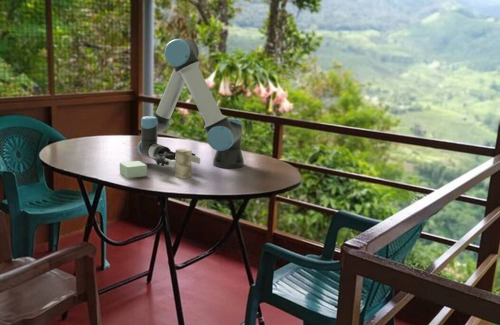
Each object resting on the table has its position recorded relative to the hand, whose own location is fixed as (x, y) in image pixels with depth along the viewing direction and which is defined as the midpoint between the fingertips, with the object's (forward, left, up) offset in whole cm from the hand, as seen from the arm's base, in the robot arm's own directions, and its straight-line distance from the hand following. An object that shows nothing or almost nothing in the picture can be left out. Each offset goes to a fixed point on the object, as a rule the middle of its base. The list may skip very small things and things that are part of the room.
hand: (186, 162), depth 223 cm
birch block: (+2, -2, -7) cm, 8 cm away
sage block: (+24, -3, -7) cm, 25 cm away
